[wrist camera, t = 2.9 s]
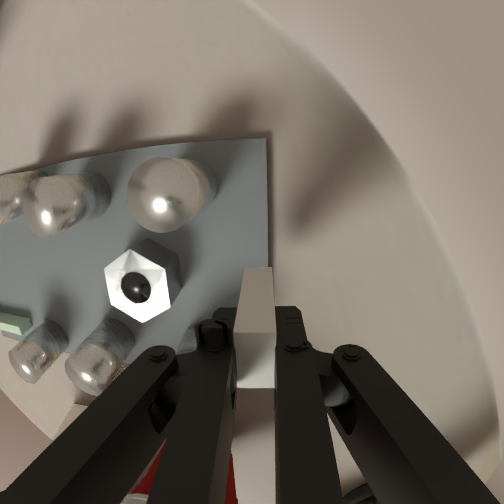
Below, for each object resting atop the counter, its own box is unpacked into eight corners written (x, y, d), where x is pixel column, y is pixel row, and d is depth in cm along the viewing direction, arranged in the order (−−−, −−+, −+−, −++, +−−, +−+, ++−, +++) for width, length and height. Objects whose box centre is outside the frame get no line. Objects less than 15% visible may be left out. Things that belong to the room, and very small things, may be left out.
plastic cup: (140, 429, 27) (108, 508, 16) (179, 383, 24) (142, 488, 13) (219, 465, 29) (208, 544, 17) (272, 428, 26) (273, 527, 14)
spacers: (229, 370, 23) (220, 423, 17) (49, 347, 24) (18, 378, 18) (216, 143, 18) (194, 132, 12) (12, 177, 19) (-35, 185, 13)
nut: (184, 304, 21) (172, 325, 18) (131, 302, 21) (114, 320, 18) (176, 236, 20) (162, 248, 17) (120, 238, 20) (100, 249, 17)
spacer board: (267, 367, 23) (268, 372, 23) (7, 333, 25) (3, 336, 24) (265, 139, 18) (266, 138, 18) (-25, 188, 20) (-30, 189, 19)
